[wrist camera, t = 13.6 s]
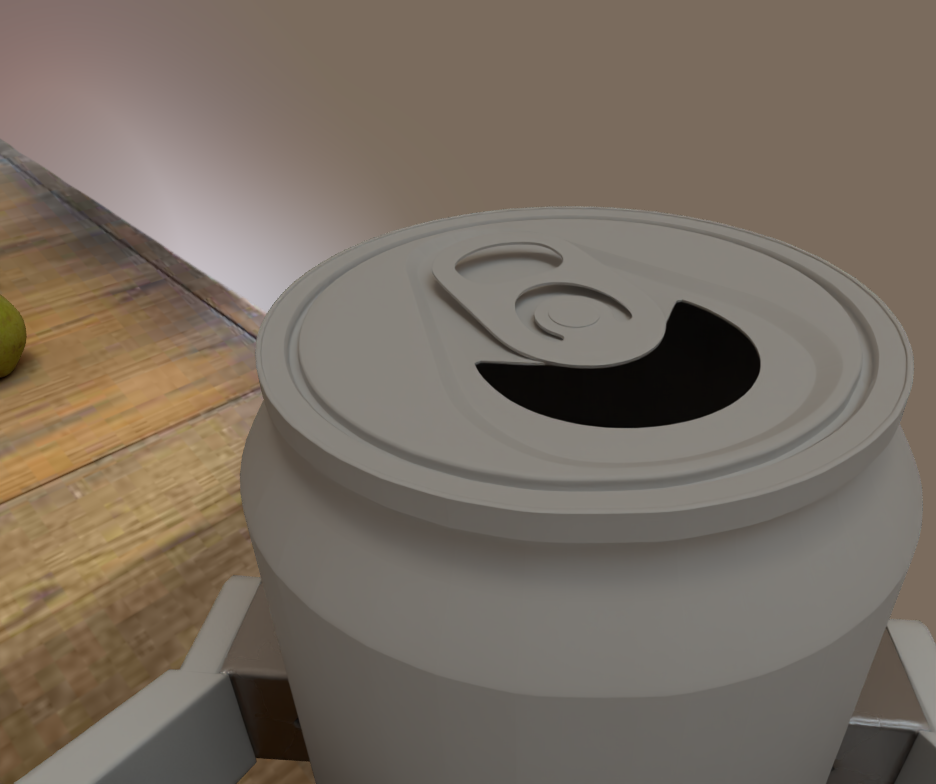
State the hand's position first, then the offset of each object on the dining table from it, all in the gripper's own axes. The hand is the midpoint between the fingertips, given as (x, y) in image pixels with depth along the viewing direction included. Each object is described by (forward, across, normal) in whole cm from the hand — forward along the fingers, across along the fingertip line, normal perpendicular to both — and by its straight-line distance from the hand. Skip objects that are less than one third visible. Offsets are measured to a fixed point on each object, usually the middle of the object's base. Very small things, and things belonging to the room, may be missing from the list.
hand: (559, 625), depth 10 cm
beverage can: (-1, 0, -7) cm, 7 cm away
